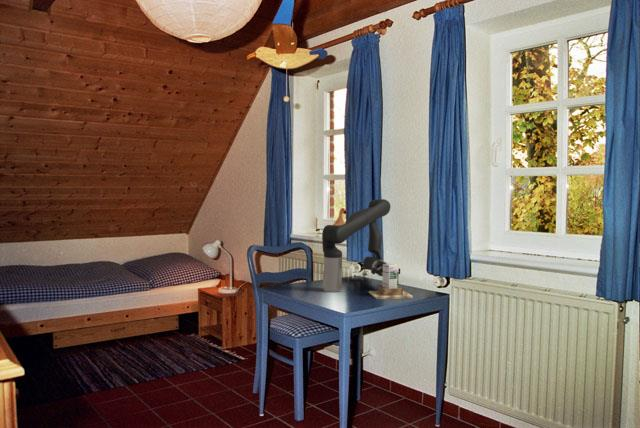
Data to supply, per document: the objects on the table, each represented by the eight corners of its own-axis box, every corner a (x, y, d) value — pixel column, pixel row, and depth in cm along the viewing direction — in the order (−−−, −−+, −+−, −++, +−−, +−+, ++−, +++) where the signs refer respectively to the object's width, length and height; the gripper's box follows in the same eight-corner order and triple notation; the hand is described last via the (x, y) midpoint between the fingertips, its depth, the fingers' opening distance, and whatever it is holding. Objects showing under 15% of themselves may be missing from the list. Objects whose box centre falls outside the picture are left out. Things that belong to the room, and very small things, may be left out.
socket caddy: (376, 298, 257) (376, 290, 257) (368, 293, 271) (369, 284, 270) (412, 298, 260) (412, 289, 259) (403, 292, 273) (403, 284, 273)
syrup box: (388, 295, 261) (389, 265, 260) (382, 292, 267) (382, 263, 266) (398, 294, 264) (399, 264, 263) (391, 291, 269) (392, 262, 268)
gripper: (367, 260, 281) (375, 265, 265) (394, 260, 284) (403, 265, 268) (367, 275, 282) (375, 280, 266) (393, 274, 284) (403, 280, 268)
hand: (389, 273), depth 267 cm, fingers open, 8 cm apart
